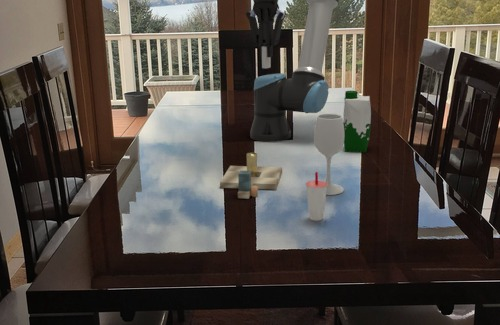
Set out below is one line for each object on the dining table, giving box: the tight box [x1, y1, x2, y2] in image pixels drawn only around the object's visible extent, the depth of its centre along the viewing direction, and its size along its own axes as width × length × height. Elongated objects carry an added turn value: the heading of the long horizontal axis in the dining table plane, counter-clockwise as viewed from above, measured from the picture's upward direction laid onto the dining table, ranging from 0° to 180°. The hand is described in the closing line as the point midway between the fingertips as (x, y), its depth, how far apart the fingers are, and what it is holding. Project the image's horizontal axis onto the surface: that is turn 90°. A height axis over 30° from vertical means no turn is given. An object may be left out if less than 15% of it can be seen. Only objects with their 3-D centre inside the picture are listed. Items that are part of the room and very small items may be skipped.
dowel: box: [250, 186, 259, 198], centre depth 168 cm, size 2×2×3 cm
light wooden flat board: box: [219, 165, 283, 200], centre depth 176 cm, size 16×24×6 cm, turn 171°
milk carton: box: [342, 90, 372, 154], centre depth 208 cm, size 9×9×20 cm
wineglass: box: [313, 113, 345, 196], centre depth 168 cm, size 9×9×21 cm
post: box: [246, 152, 258, 177], centre depth 180 cm, size 3×3×8 cm
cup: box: [305, 171, 328, 222], centre depth 150 cm, size 5×5×12 cm
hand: (266, 67), depth 189 cm, fingers closed
